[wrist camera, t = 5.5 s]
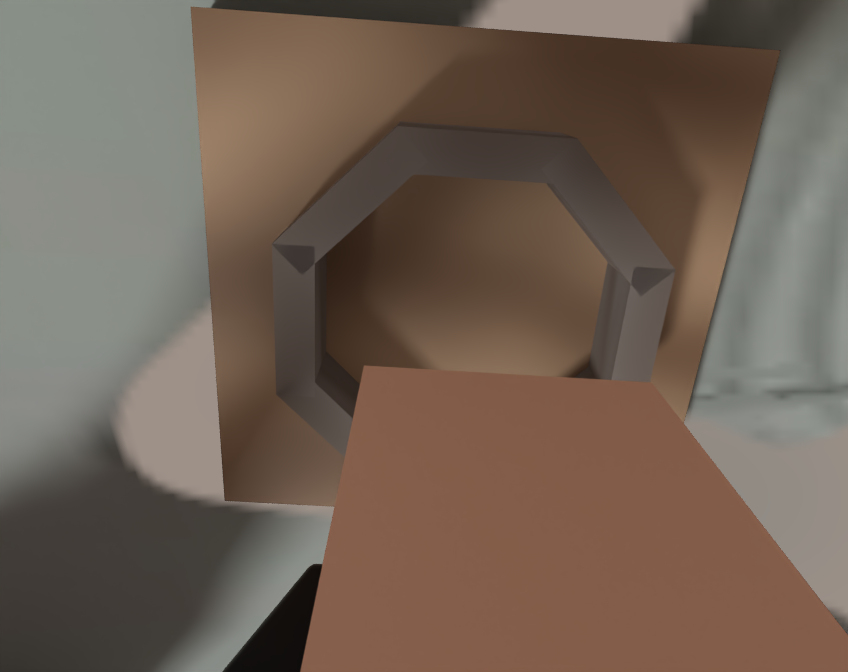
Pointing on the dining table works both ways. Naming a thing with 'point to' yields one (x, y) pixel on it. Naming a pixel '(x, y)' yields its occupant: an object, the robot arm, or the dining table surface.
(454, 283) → the socket board
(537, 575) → the terracotta block
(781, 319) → the dining table surface
